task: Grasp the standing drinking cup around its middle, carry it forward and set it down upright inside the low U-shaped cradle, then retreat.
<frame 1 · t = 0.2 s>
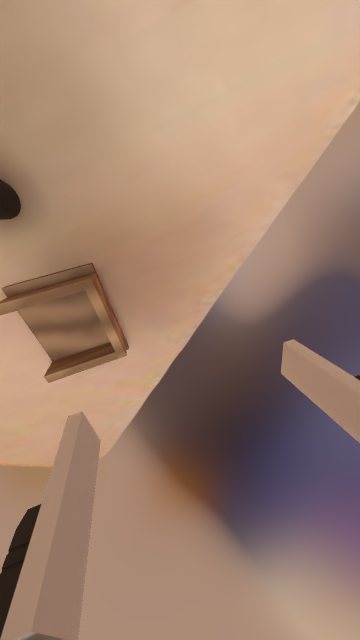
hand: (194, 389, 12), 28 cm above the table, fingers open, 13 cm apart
u rest: (75, 321, 35), on the table
drinking cup: (0, 200, 26), on the table
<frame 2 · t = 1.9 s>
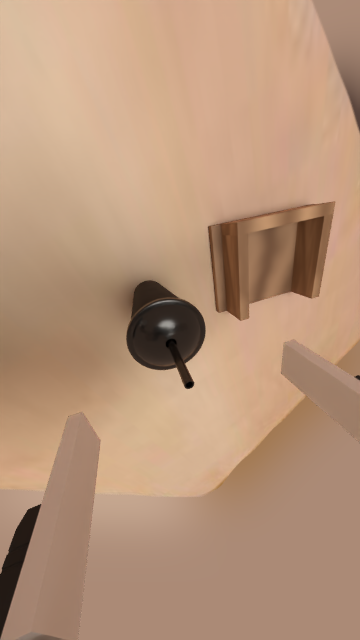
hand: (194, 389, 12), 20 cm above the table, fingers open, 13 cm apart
u rest: (260, 260, 32), on the table
drinking cup: (149, 295, 30), on the table
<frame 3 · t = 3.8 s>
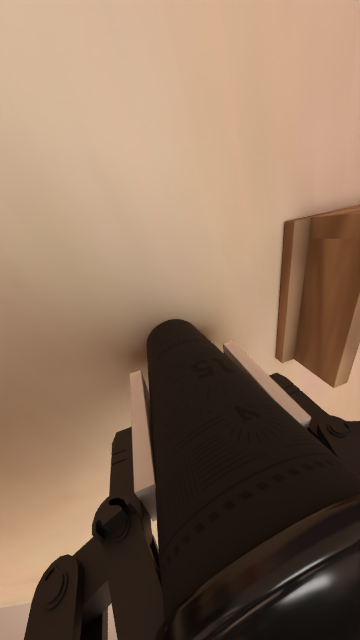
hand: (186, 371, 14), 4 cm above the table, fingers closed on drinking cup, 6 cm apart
u rest: (353, 279, 20), on the table
drinking cup: (173, 342, 17), on the table, touching gripper
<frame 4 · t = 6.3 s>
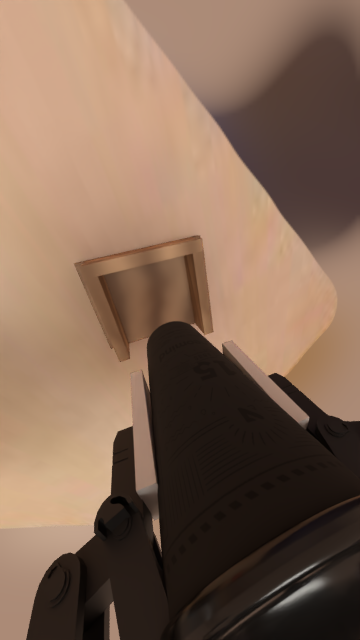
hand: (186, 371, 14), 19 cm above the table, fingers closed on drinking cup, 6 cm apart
u rest: (152, 293, 30), on the table
drinking cup: (173, 343, 17), point 15 cm above the table, touching gripper
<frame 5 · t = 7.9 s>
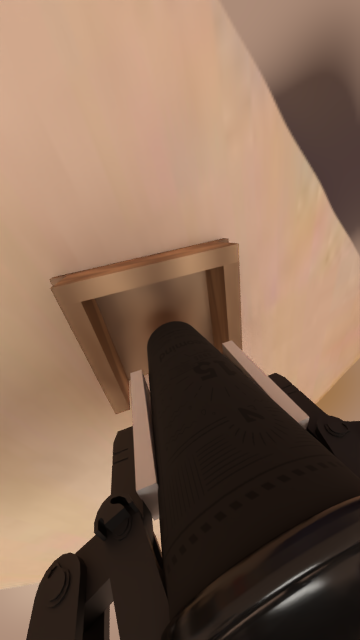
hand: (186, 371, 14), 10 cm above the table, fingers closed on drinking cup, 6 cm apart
u rest: (160, 316, 23), on the table
drinking cup: (173, 343, 17), point 6 cm above the table, touching gripper
when the fingers open (6 cm above the table, at t = 9.0 s): drinking cup drops 1 cm, resting on u rest.
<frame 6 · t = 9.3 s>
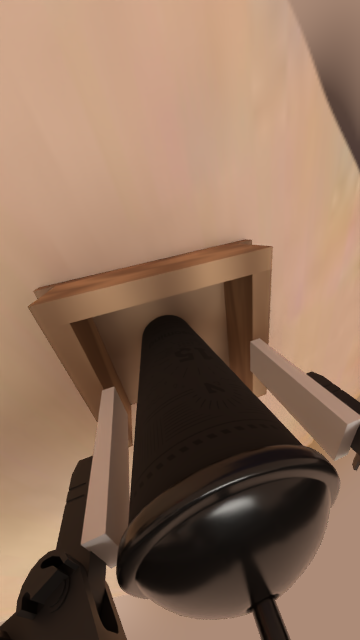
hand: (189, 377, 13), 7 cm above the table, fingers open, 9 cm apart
u rest: (168, 331, 19), on the table
drinking cup: (167, 336, 18), point 1 cm above the table, touching u rest
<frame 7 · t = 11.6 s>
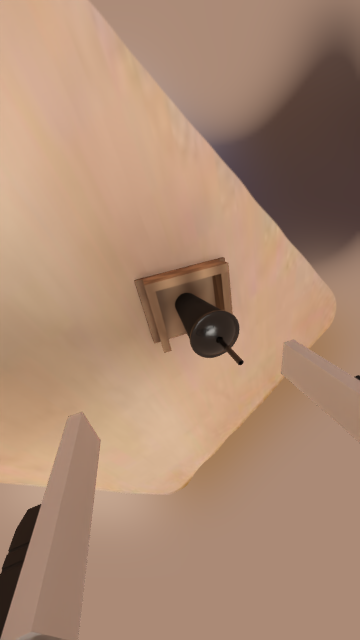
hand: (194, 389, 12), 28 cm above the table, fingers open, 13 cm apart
u rest: (186, 301, 40), on the table
drinking cup: (186, 303, 39), point 1 cm above the table, touching u rest
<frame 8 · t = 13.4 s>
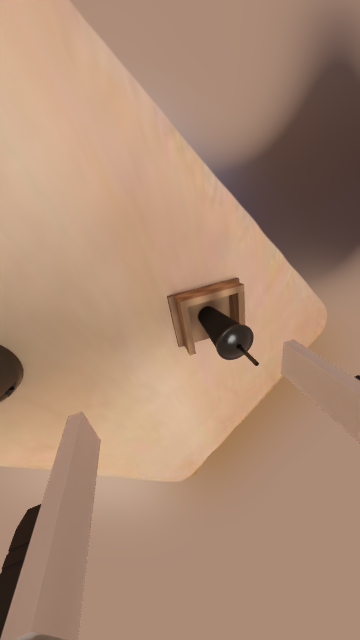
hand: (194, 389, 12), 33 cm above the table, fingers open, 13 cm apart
u rest: (206, 312, 48), on the table
drinking cup: (206, 314, 47), point 1 cm above the table, touching u rest
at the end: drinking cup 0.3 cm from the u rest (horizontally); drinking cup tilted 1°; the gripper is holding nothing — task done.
